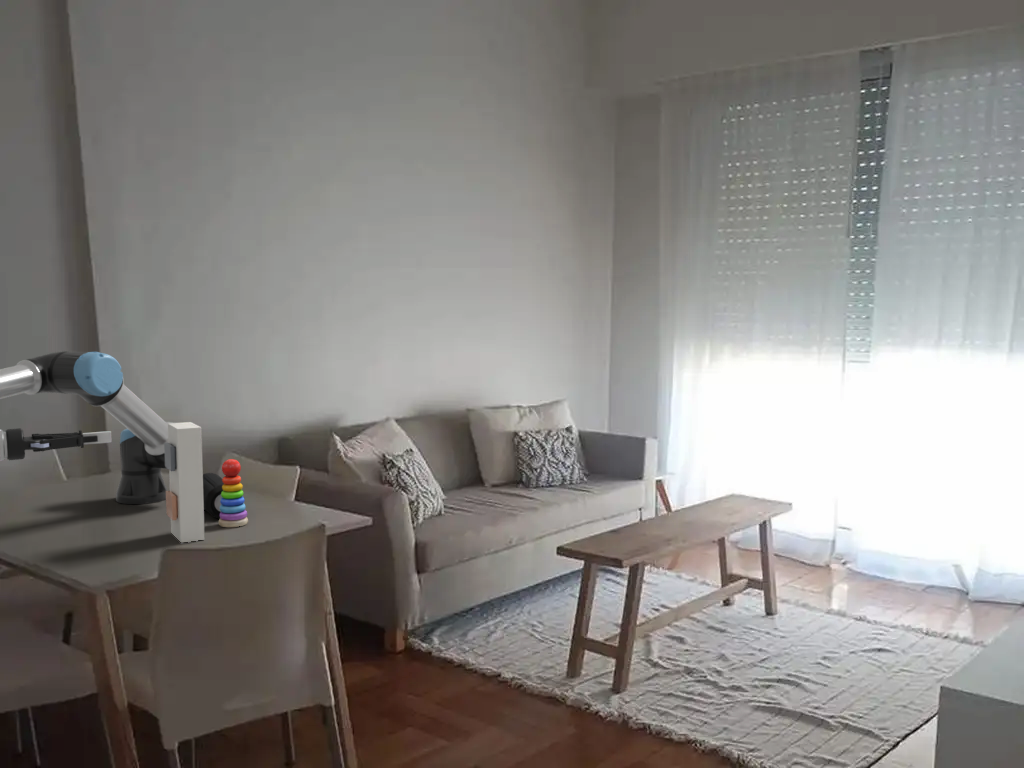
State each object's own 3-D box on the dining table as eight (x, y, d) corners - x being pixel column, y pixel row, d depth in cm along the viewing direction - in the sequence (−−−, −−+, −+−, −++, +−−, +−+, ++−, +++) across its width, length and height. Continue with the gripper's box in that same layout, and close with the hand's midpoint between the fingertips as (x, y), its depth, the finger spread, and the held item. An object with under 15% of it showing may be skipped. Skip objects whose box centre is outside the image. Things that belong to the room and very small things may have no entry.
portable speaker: (243, 518, 267) (242, 484, 267) (207, 522, 263) (206, 488, 262) (223, 501, 290) (222, 470, 289) (190, 505, 285) (189, 473, 284)
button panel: (171, 533, 250) (167, 423, 247) (193, 530, 253) (190, 421, 251) (180, 543, 240) (177, 429, 237) (204, 540, 243) (201, 427, 240)
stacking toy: (217, 522, 262) (216, 457, 260) (246, 520, 265) (245, 455, 263) (219, 529, 255) (217, 462, 253) (249, 526, 258) (247, 460, 256)
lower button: (166, 514, 247) (165, 490, 246) (193, 511, 251) (192, 488, 250) (172, 520, 241) (171, 496, 240) (200, 517, 244) (199, 493, 244)
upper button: (165, 466, 246) (164, 442, 245) (192, 464, 249) (191, 440, 249) (171, 471, 239) (170, 446, 239) (198, 468, 243) (198, 444, 242)
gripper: (4, 456, 228) (107, 447, 240) (8, 464, 217) (115, 455, 229) (2, 426, 227) (106, 418, 240) (6, 433, 216) (114, 425, 229)
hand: (110, 436), depth 234 cm, fingers closed
